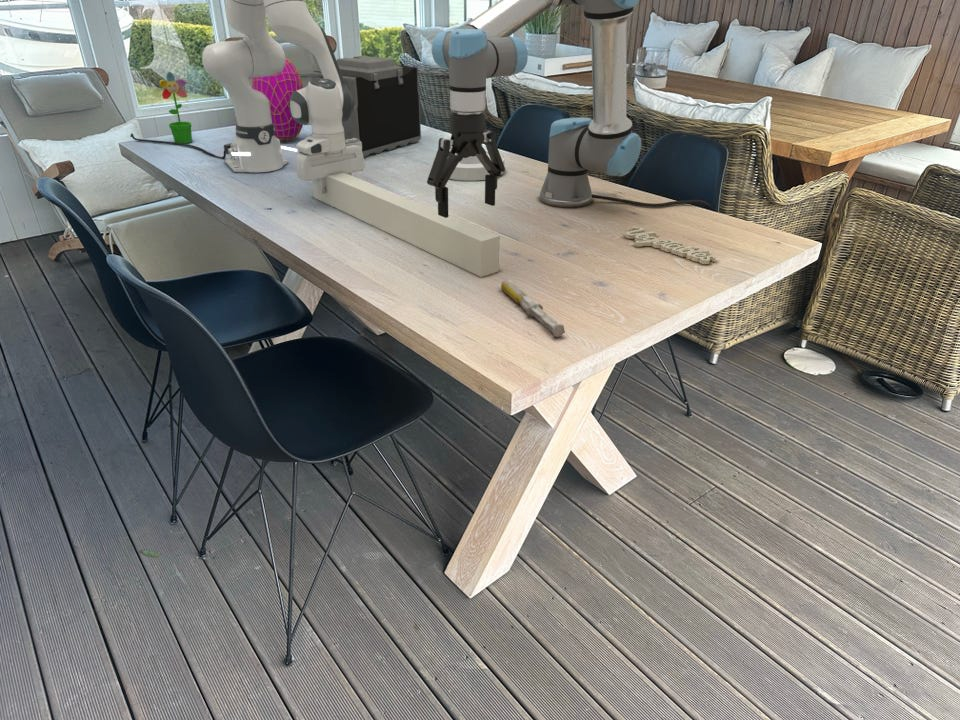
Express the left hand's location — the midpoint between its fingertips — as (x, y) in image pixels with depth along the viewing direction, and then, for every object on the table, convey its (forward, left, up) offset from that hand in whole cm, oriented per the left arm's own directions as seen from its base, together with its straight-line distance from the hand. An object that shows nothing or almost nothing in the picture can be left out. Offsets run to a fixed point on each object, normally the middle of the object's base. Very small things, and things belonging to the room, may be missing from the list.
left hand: (333, 190), depth 198 cm
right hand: (+60, 0, +10) cm, 61 cm away
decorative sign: (+84, +44, -3) cm, 95 cm away
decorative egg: (-79, +24, -3) cm, 83 cm away
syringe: (+88, -6, -3) cm, 88 cm away
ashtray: (-1, +52, -3) cm, 52 cm away
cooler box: (-50, +45, -3) cm, 68 cm away
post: (+30, 0, -3) cm, 30 cm away
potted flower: (-100, -6, -3) cm, 100 cm away
